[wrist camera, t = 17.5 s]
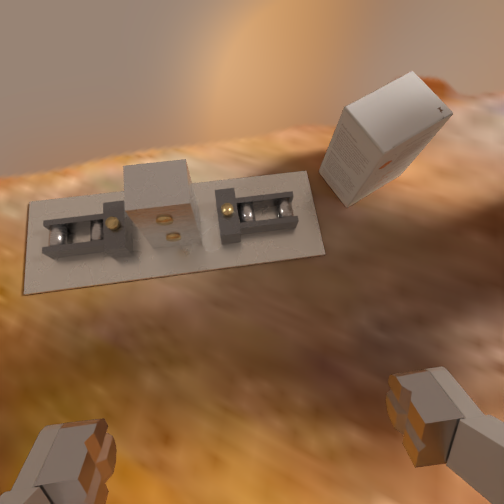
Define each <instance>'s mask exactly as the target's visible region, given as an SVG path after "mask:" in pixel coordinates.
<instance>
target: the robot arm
mask: <svg viewBox="0 0 504 504" xmlns="http://www.w3.org/2000/svg"><path fill="white" fill-rule="evenodd" d="M388 385H389V386H390V388H391V390H390V391H389V392H388V393H387V394H386V407H387V412H388V415H389V418H390V420H391V422H392V424H393V426H394V428H395V429H396V430H398V431H399V432H400V433H402V434H403V435H404V438H403V445H404V447H405V449H406V451H407V453H408V455H409V457H410V459H411V460H412V462H413V464H414V466H415V468H416V467H423V466H430V465H438V464H445V463H447V464H446V465H447V466H448V467H449V468H450V469H451V470H453V471H454V472H455V473H456V474H457V475H458V476H460V477H461V478H462V479H463V480H464V481H466V482H467V483H468V484H469V485H470V486H472V487H473V488H474V489H475V490H476V491H477V492H479V493H480V494H481V495H482V496H483V497H485V498H486V499H487V500H488V501H489V502H491V503H492V504H504V422H502V421H501V420H499V419H497V418H495V417H493V416H492V415H484V414H483V413H482V411H481V410H480V409H479V408H478V406H477V405H476V404H475V403H474V402H473V400H472V399H471V398H470V397H469V396H468V394H467V393H466V392H465V391H464V389H463V388H462V387H461V386H460V385H459V383H458V382H457V381H456V380H455V379H454V377H453V376H452V375H451V374H450V373H449V371H448V370H447V369H446V368H444V367H443V366H442V367H435V368H429V369H420V370H414V371H408V372H401V373H395V374H391V375H390V376H389V380H388ZM107 428H108V425H107V423H106V421H105V419H95V420H87V421H79V422H71V423H63V424H56V425H49V426H45V427H44V428H43V429H42V430H41V431H40V433H39V435H38V437H37V439H36V441H35V443H34V445H33V447H32V449H31V451H30V453H29V455H28V457H27V459H26V461H25V463H24V465H23V467H22V469H21V471H20V473H19V475H18V477H17V479H16V481H15V483H14V485H13V487H12V489H11V491H8V492H4V493H3V494H2V495H1V496H0V504H105V503H106V500H107V496H108V492H109V491H108V488H107V486H106V484H105V483H106V481H107V480H108V479H109V478H110V477H111V475H112V474H113V472H114V468H115V464H116V451H117V450H116V444H115V440H114V438H113V436H111V435H109V434H108V433H106V432H107Z"/></svg>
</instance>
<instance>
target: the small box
mask: <svg viewBox="0 0 504 504" xmlns="http://www.w3.org/2000/svg"><path fill="white" fill-rule="evenodd" d="M452 115H453V112H452V111H451V110H450V109H449V108H448V107H447V106H446V105H445V104H444V103H443V102H442V101H441V100H440V99H439V98H438V97H437V96H436V95H435V94H434V92H433V91H432V90H431V89H430V88H429V87H428V86H427V85H426V84H425V83H424V82H423V81H422V80H421V79H420V78H419V77H418V76H417V75H416V74H415V73H414V72H413V71H410V72H409V73H407V74H405V75H403V76H401V77H399V78H397V79H395V80H394V81H392V82H390V83H388V84H386V85H385V86H383V87H381V88H379V89H377V90H375V91H373V92H371V93H370V94H368V95H366V96H364V97H362V98H360V99H358V100H357V101H355V102H353V103H351V104H349V105H347V106H345V107H344V109H343V111H342V114H341V117H340V119H339V122H338V124H337V127H336V129H335V131H334V134H333V137H332V139H331V142H330V144H329V147H328V149H327V152H326V154H325V157H324V159H323V162H322V164H321V167H320V169H319V173H320V175H321V176H322V177H323V178H324V180H325V181H326V182H327V184H328V185H329V186H330V187H331V189H332V190H333V191H334V193H335V194H336V195H337V196H338V198H339V199H340V200H341V201H342V203H343V204H344V205H345V207H346V208H348V207H350V206H351V205H353V204H354V203H356V202H358V201H359V200H361V199H363V198H364V197H366V196H367V195H369V194H371V193H372V192H374V191H376V190H377V189H379V188H381V187H382V186H384V185H385V184H387V183H389V182H390V181H392V180H394V179H395V178H397V177H399V176H400V175H401V174H402V173H403V172H404V171H405V170H406V168H407V167H408V166H409V165H410V164H411V163H412V162H413V160H414V159H415V158H416V157H417V156H418V155H419V153H420V152H421V151H422V150H423V149H424V148H425V146H426V145H427V144H428V143H429V142H430V141H431V139H432V138H433V137H434V136H435V135H436V133H437V132H438V131H439V130H440V129H441V128H442V126H443V125H444V124H445V123H446V122H447V121H448V119H449V118H450V117H451V116H452Z"/></svg>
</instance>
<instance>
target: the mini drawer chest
mask: <svg viewBox="0 0 504 504" xmlns="http://www.w3.org/2000/svg"><path fill="white" fill-rule="evenodd" d="M123 169H124V199H125V212H126V213H127V214H128V216H129V217H130V218H131V220H132V221H133V222H134V224H135V225H136V226H137V228H138V229H139V230H140V232H141V233H142V234H143V236H144V237H145V238H146V240H147V241H148V242H149V244H150V245H151V246H152V248H153V249H156V248H164V247H172V246H180V245H188V244H196V243H202V235H201V225H200V216H199V208H198V204H197V200H196V196H195V192H194V189H193V185H192V181H191V177H190V173H189V170H188V166H187V162H186V159H184V160H175V161H165V162H156V163H146V164H137V165H128V166H123Z"/></svg>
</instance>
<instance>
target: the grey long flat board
mask: <svg viewBox="0 0 504 504" xmlns="http://www.w3.org/2000/svg"><path fill="white" fill-rule="evenodd" d="M192 185H193V189H194V192H195V196H196V200H197V204H198V208H199V216H200V225H201V235H202V243H196V244H188V245H180V246H172V247H164V248H156V249H153V248H152V246H151V245H150V244H149V242H148V241H147V240H146V238H145V237H144V236H143V234H142V233H141V232H140V230H139V229H138V228H137V226H136V225H135V224H134V222H133V221H132V220H131V218H130V217H129V216H128V214H127V213H126V212H125V199H124V191H121V192H112V193H104V194H95V195H86V196H77V197H68V198H59V199H50V200H41V201H32V202H30V205H29V220H28V236H27V252H26V267H25V283H24V295H31V294H39V293H46V292H54V291H61V290H69V289H76V288H84V287H91V286H99V285H106V284H114V283H121V282H129V281H136V280H144V279H151V278H159V277H166V276H174V275H181V274H189V273H196V272H204V271H211V270H219V269H226V268H234V267H241V266H249V265H256V264H264V263H271V262H279V261H286V260H293V259H301V258H308V257H316V256H323V255H325V250H324V245H323V241H322V237H321V232H320V228H319V223H318V219H317V215H316V210H315V206H314V202H313V197H312V193H311V188H310V184H309V180H308V175H307V171H299V172H290V173H281V174H272V175H263V176H255V177H246V178H237V179H228V180H219V181H210V182H201V183H192Z"/></svg>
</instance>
